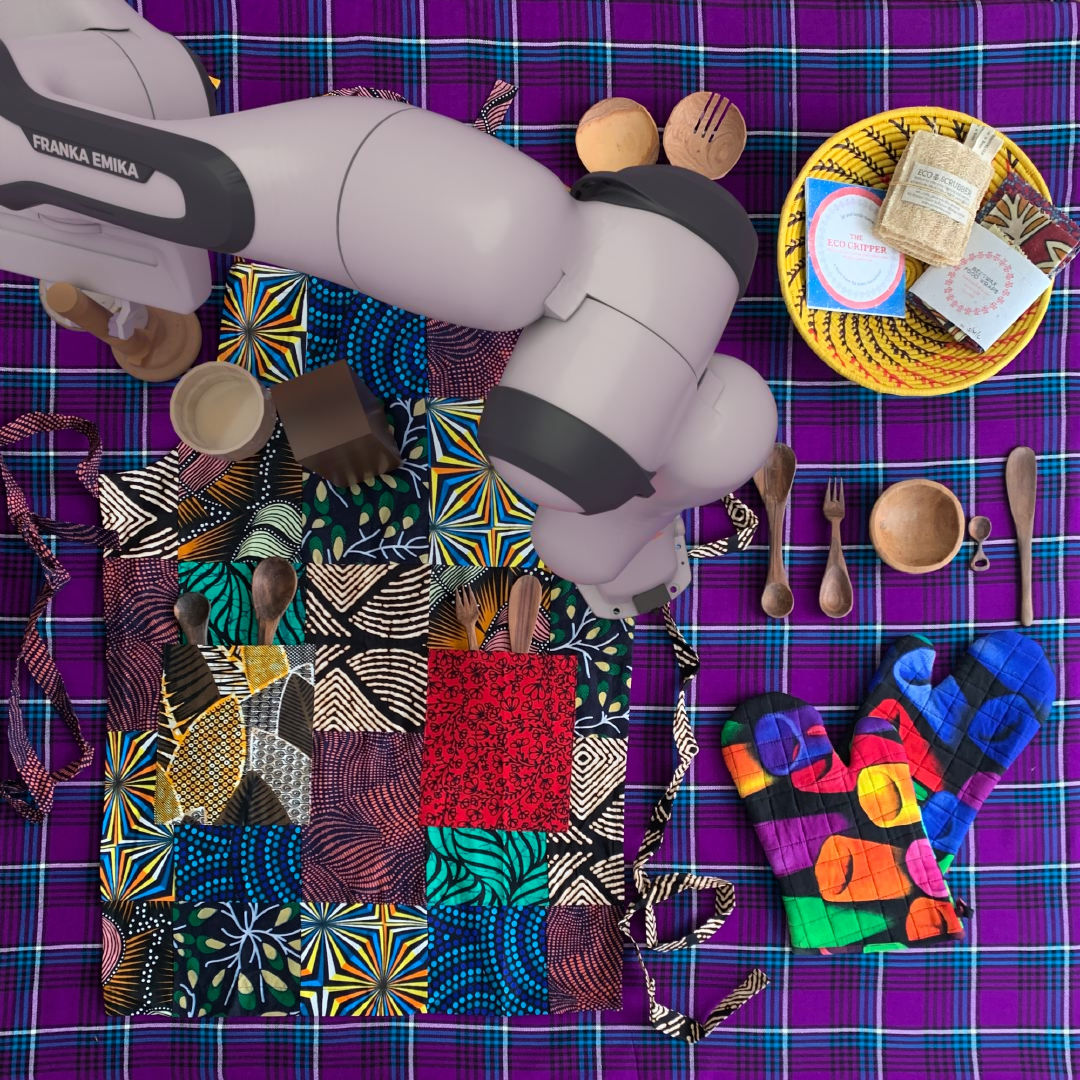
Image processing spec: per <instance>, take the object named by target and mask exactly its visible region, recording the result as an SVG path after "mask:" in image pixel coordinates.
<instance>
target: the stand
mask: <svg viewBox="0 0 1080 1080" xmlns="http://www.w3.org/2000/svg"><path fill="white" fill-rule="evenodd" d="M268 390H269V392H270V393H271V395H272V397H273V400H274V403H275V406H276V412H277V413H278V414H277V415H278V416H279V419H280V422H281V424H282V427H283V430H284V433H285V436H286V439H287V441H288V444H289V447H290V450H291V452H292V455H293V458H294V460H295V462H296V463H298V464H300V465H301V466H302V467H304V468H306V469H308V470H309V471H311V472H313V473H315V474H316V475H318V476H320V477H321V478H323V479H324V480H325V481H328V482H330V483H331V484H333V485H334V486H336V487H338V488H339V489H341V490H344V489H346V488H348V487H353V486H355V485H357V484H359V483H362V482H365V481H368V480H371V479H373V478H375V477H378V476H381V475H383V474H386V473H389V472H391V471H395V470H397V469H399V468H402V467H404V466H405V463H404V460H403V458H402V454H401V451H400V449H399V447H398V444H397V441H396V438H395V436H394V434H393V431H392V430H393V429H392V428H391V424H390V423H389V420H388V417H387V413H386V412H385V409H384V406H383V404H382V403H381V401H380V400H379V399H378V397H376V395H375V394H374V393H373V392H372V390H371V389H370V388H369V387H368V385H367V384H366V383H365V382H364V380H362V378H361V376H359V374H358V373H357V372H356V371H355V369H354V368H353V367H352V365H350V363H349V362H348V361H347V360H346V358H342V359H339V360H337V361H334V362H332V363H329V364H327V365H324V366H321V367H318V368H316V369H313V370H310V371H308V372H305V373H303V374H299V375H297V376H294V377H291V378H289V379H287V380H283V381H281V382H279V383H275V384H273V385H270V386H268Z"/></svg>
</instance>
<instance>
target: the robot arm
mask: <svg viewBox="0 0 1080 1080" xmlns="http://www.w3.org/2000/svg"><path fill="white" fill-rule="evenodd" d="M215 95H216V94H215V90H214V87H213V83H212V80H211V77H210V75H209V73H208V71H207V69H206V67H205V66H204V64H203V63H202V61H201V60H200V58H199V57H198V56H197V55H196V54H195V52H194V51H193V50H192V49H191V48H190V47H189V46H188V45H187V44H186V43H185V42H183V41H182V40H181V39H179V38H178V36H175V35H174V34H173V33H171V32H168V31H165V30H161V29H158V28H157V27H156V26H154V25H153V24H152V23H150V22H149V21H148V20H147V19H146V18H144V17H143V16H142V15H141V14H139V13H138V11H136V10H135V9H134V8H133V7H132V6H131V5H130V4H129V3H128V2H127V1H126V0H0V270H2V271H5V272H10V273H14V274H18V275H21V276H27V277H30V278H35V279H38V280H40V279H42V280H45V283H46V288H47V291H48V289H49V288H50V287H51V286H52V285H53V284H55V283H58V282H67V283H70V284H71V285H73V286H74V287H76V288H79V289H83V290H87V291H91V292H95V293H99V294H103V295H107V296H111V297H114V301H115V306H116V307H120V308H121V307H122V309H121V311H120V312H116V313H115V314H114V315H113V317H110V318H109V319H108V320H107V327H108V328H109V331H108V333H109V336H112V337H116V338H119V339H123V340H128V339H129V338H130V337H131V336H132V335H133V334H134V323H133V316H134V314H135V313H136V311H137V309H138V308H139V306H140V304H144V305H148V306H152V307H156V308H160V309H164V310H168V311H172V312H176V313H180V314H184V315H188V314H191V313H192V312H194V313H195V311H196V310H197V309H199V308H200V307H201V306H202V305H204V304H205V302H206V301H207V300H208V299H209V297H210V296H211V294H212V290H213V289H212V288H213V285H212V284H213V283H212V282H213V281H212V272H211V264H210V258H209V252H208V251H210V252H211V251H212V252H216V253H219V254H226V255H231V256H235V257H240V258H243V259H249V260H253V261H256V262H261V263H266V264H270V265H274V266H277V267H282V268H286V269H289V270H292V271H296V272H300V273H303V274H306V275H310V276H313V277H316V278H319V279H322V280H325V281H328V282H331V283H334V284H336V285H340V286H343V287H345V288H348V289H351V290H353V291H355V292H358V293H361V294H363V295H365V296H368V297H371V298H373V299H375V300H377V301H380V302H382V303H385V304H387V305H390V306H392V307H395V308H398V309H400V310H404V311H406V312H409V313H412V314H415V315H419V316H421V317H425V318H428V319H432V320H436V321H439V322H443V323H447V324H452V325H456V326H461V327H465V328H470V329H477V330H483V331H488V332H497V333H498V332H500V333H502V332H511V331H516V330H519V329H522V331H521V332H520V335H519V336H518V339H517V341H516V343H515V344H514V347H513V349H512V351H511V354H510V356H509V359H508V361H507V363H506V365H505V367H504V370H503V372H502V375H501V378H500V380H499V382H498V385H493V386H492V387H490V389H489V391H488V394H487V397H486V400H485V402H484V404H483V408H482V411H481V414H480V417H479V421H478V425H477V430H476V439H477V442H478V444H479V448H480V451H481V453H482V455H483V457H484V459H486V460H487V461H488V462H489V463H490V464H491V465H492V466H493V468H494V469H495V471H496V472H497V474H498V475H499V476H500V477H501V479H502V480H503V481H504V482H505V483H506V484H507V485H508V486H509V487H510V488H511V489H513V490H514V491H515V492H516V493H517V494H519V495H520V496H521V497H523V498H524V499H526V500H528V501H530V502H532V503H533V504H536V505H537V509H536V512H535V514H534V517H533V520H532V523H531V525H530V526H531V527H530V530H529V537H530V540H531V543H532V546H533V548H534V551H535V553H536V554H537V556H538V558H539V559H540V560H541V562H542V563H543V565H545V567H546V568H548V570H550V571H551V572H552V573H553V574H555V575H557V576H558V577H560V578H562V579H564V580H566V581H568V582H571V583H573V584H574V586H575V587H576V588H577V590H578V592H579V594H580V595H581V597H582V598H583V600H584V601H585V603H586V605H587V606H588V607H589V609H590V611H591V612H592V613H593V615H594V616H595V618H600V619H603V620H604V619H605V620H625V619H629V618H630V619H631V618H634V617H638V616H641V615H645V614H647V613H649V612H651V614H653V616H654V617H659V616H660V608H662V607H663V606H665V605H667V604H669V603H670V602H673V600H675V599H676V598H677V597H679V596H680V595H681V594H682V593H683V592H684V591H685V590H686V589H687V588H688V586H689V585H690V583H691V581H692V571H691V567H690V561H689V556H688V550H687V544H686V539H685V535H686V527H685V523H684V520H683V518H682V517H681V513H682V512H683V511H684V510H688V509H693V508H698V507H703V506H705V505H708V504H712V503H714V502H716V501H719V500H721V499H723V498H725V497H727V496H729V495H730V494H732V493H734V492H735V491H737V490H738V489H740V488H741V487H742V486H744V485H745V484H746V483H747V482H749V481H750V480H751V479H752V478H753V477H754V476H755V475H756V474H757V473H758V471H759V470H761V468H762V467H763V466H764V464H765V463H766V462H767V460H768V458H769V457H770V455H771V452H772V451H773V448H774V446H775V443H776V440H777V435H778V428H779V413H778V408H777V404H776V401H775V398H774V394H773V392H772V391H771V388H770V386H769V385H768V384H767V382H766V380H765V378H763V377H762V375H760V373H759V372H758V371H757V370H755V369H754V368H753V367H752V366H751V365H749V363H746V362H745V361H743V360H741V359H740V358H737V357H735V356H731V355H728V354H724V353H718V352H715V351H716V349H717V347H718V345H719V343H720V340H721V338H722V335H723V333H724V331H725V328H726V326H727V324H728V322H729V320H730V317H731V314H732V312H733V309H734V307H735V304H737V302H739V301H741V300H742V299H743V298H744V296H745V294H746V291H747V288H748V286H749V283H750V281H751V277H752V273H753V272H754V271H753V270H754V267H755V263H756V260H757V256H758V248H759V237H758V233H757V231H756V230H755V227H754V225H753V222H752V221H751V219H750V217H749V215H748V213H747V211H746V210H745V207H744V206H743V205H742V204H741V203H740V202H739V200H738V199H736V197H734V195H733V194H732V193H731V192H730V191H728V189H726V188H724V187H723V186H722V185H721V184H719V183H718V182H716V181H714V180H713V179H711V178H709V177H708V176H706V175H704V174H702V173H700V172H697V171H695V170H692V169H689V168H688V167H687V168H686V167H683V166H680V165H673V164H656V163H655V164H640V165H639V164H638V165H631V166H627V167H626V166H625V167H624V168H621V169H619V170H617V171H613V170H598V171H597V170H596V171H591V172H589V173H586V174H584V175H583V176H582V177H581V178H579V179H578V180H577V181H576V182H574V183H573V185H572V186H571V187H570V189H569V190H570V191H569V190H568V188H567V187H566V185H565V184H564V183H563V181H562V180H561V179H560V178H559V176H558V175H556V173H554V172H552V170H551V169H549V168H548V167H546V166H545V165H543V164H542V163H540V162H539V161H537V160H535V159H534V158H532V157H531V156H529V155H527V154H526V153H524V152H523V151H520V149H517V148H516V147H513V146H511V145H510V144H508V143H506V142H504V141H503V140H501V139H499V138H497V137H495V136H493V135H491V134H489V133H486V132H484V131H483V130H480V129H479V128H476V127H473V126H471V125H469V124H466V123H464V122H461V121H459V120H456V119H454V118H451V117H448V116H446V115H444V114H440V113H437V112H435V111H431V110H429V109H425V108H422V107H419V106H415V105H413V104H410V103H405V102H402V101H398V100H394V99H388V98H381V97H372V96H359V95H324V96H316V97H315V96H314V97H308V98H302V99H296V100H291V101H286V102H280V103H276V104H270V105H267V106H260V107H255V108H251V109H246V110H241V111H235V112H230V113H224V114H219V115H218V111H217V110H218V109H217V108H218V107H217V103H216V102H217V101H216V100H217V99H216V96H215ZM65 320H66V324H67V326H71V327H74V328H79V329H83V328H81V327H80V326H78V325H76V324H75V323H73V322H71V321H70V320H68V319H67V318H65ZM83 330H84V329H83ZM678 546H679V548H678ZM672 587H673V588H675V591H674V592H672V591H671V588H672ZM615 609H618V610H619V612H618V613H617V614H615V612H614V610H615Z"/></svg>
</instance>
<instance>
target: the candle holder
mask: <svg viewBox="0 0 1080 1080" xmlns="http://www.w3.org/2000/svg"><path fill="white" fill-rule="evenodd" d="M38 280H39V281H38V296H39V299H40V303H41V306H42V308H43V310H44V311H45V312H46V314H47V315H48V316H49V317H50V318H51V320H53V321H54V322H55V323H56V324H57V325H59V326H61V327H63V328H64V329H67V330H71V331H73V332H85V333H86V332H88V331H86V330H85V329H84V330H83V329H79V328H74V327H71V326H67V324H66V320H65V317H63V316H62V315H60V314H58V313H57V312H55V311H53V310H52V309H51V308H50V307H49V306H48V304H47V301H46V294H47V288H46V283H45V280H42V279H38ZM77 289H79V288H77ZM79 290H80V291H82V292H83V293H85V294H86V295H87V296H89V297H90V298H92V299H93V300H95V301H96V302H98V303H99V304H101V305H102V306H103V307H105V308H106V309H108V310H109V311H111V312H112V313H114V314H115V313H116V312H120V311H121V309H122V307H121V308H120V307H116V306H115V301H114V297H111V296H107V295H103V294H99V293H95V292H91V291H87V290H83V289H79ZM133 323H134V328H141V329H145V330H149V331H151V332H152V333H154V334H155V335H156V336H158V339H157V343H156V346H155V350H154V353H153V357H152V360H151V363H150V367H149V370H148V371H147V370H143V369H139V368H135V367H134V366H132V365H130V364H129V363H127V359H128V356H127V355H126V354H124V353H122V352H121V351H119V350H117V349H116V348H114V347H113V346H111V345H110V348H111V353H112V355H113V357H114V359H115V360H116V362H117V364H118V365H119V366H120V368H122V370H124V371H125V372H126V373H127V374H128V375H130V376H132V377H133V378H136V379H138V380H140V381H143V382H148V383H149V382H150V383H161V382H167V381H171V380H173V379H175V378H178V377H180V376H181V375H182V374H184V373H186V371H188V370H189V369H190V368H191V366H192V365H193V364H194V363H195V361H196V359H197V357H198V356H199V354H200V351H201V348H202V344H203V343H202V341H203V331H202V327H201V322H200V320H199V318H198V316H197V314H196V312H195V311H194V312H192V313H191V314H188V315H184V314H180V313H176V312H172V311H168V310H164V309H160V308H156V307H152V306H148V305H144V304H140V306H139V308H138V309H137V311H136V313H135V314H134V316H133Z"/></svg>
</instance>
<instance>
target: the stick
mask: <svg viewBox="0 0 1080 1080" xmlns="http://www.w3.org/2000/svg"><path fill="white" fill-rule="evenodd" d="M46 301H47V304H48V306H49V307H50V308H51V309H52V310H53V311H55V312H57V313H58V314H60V315H62V316H63V317H65V318H67V319H68V320H70V321H71V322H73V323H75V324H76V325H78V326H80V327H81V328H83V329H85V330H86V331H87V332H88V333H90V334H91V335H93V336H94V337H96V338H98V339H99V340H101V341H102V342H104V343H106V344H107V345H109V346H110V347H111V346H113V347H114V348H116V349H117V350H119V351H121V352H122V353H124V354H126V355H127V356H128V359H127V363H129V364H130V365H132V366H134V367H135V368H139V369H143V370H147V371H148V370H149V367H150V363H151V360H152V357H153V353H154V350H155V346H156V343H157V339H158V336H156V335H155V334H154V333H152V332H151V331H149V330H145V329H141V328H134V334H133V335H132V336H131V337H130V338H129V339H128V340H123V339H119V338H116V337H112V336H109V333H108V331H109V328H108V327H107V320H108V319H109V318H110V317H113V315H114V313H112V312H111V311H109V310H108V309H106V308H105V307H103V306H102V305H101V304H99V303H98V302H96V301H95V300H93V299H92V298H90V297H89V296H87V295H86V294H85V293H83V292H82V291H80V290H79V289H77V288H76V287H74V286H73V285H71V284H70V283H67V282H58V283H55V284H53V285H52V286H51V287H50V288H49V289H48V291H47V294H46Z"/></svg>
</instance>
